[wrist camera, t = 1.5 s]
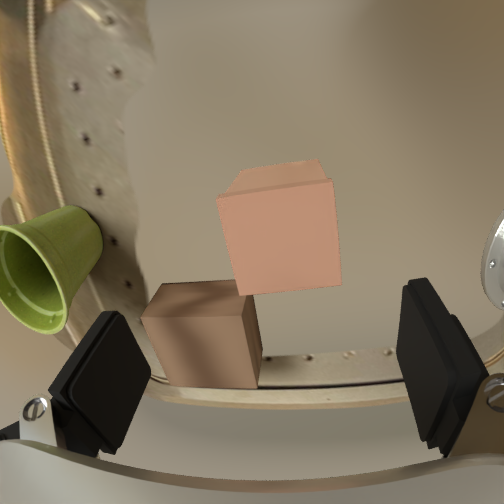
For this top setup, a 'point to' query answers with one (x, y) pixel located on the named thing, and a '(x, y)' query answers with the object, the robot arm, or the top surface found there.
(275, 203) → the peach lipped block
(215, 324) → the walnut box
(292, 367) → the top surface
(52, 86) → the top surface
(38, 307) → the plant pot
